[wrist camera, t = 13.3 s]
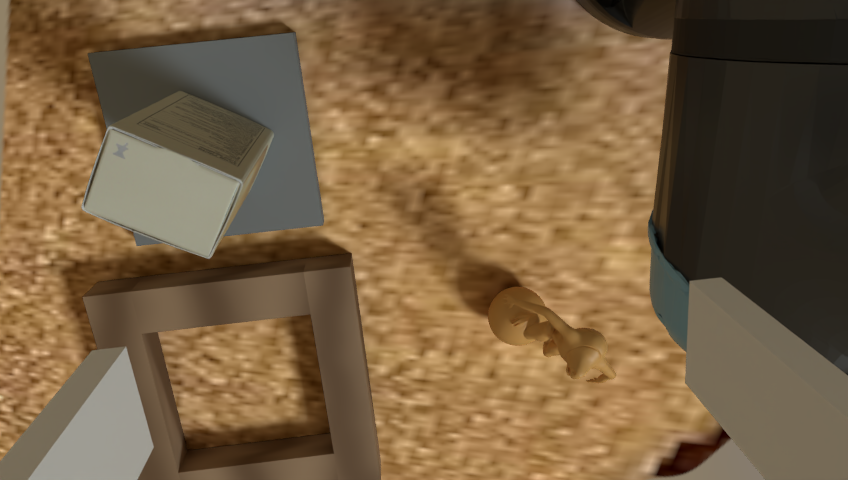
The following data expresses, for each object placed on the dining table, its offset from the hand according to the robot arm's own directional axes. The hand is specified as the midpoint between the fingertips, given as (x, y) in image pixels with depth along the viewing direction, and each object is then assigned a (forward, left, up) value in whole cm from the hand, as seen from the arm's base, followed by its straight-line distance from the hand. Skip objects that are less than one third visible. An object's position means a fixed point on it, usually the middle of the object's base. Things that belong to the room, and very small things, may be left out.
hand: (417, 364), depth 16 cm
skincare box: (+11, -1, -28) cm, 30 cm away
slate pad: (+11, -1, -29) cm, 31 cm away
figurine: (-8, +12, -29) cm, 32 cm away
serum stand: (+12, +16, -29) cm, 35 cm away
